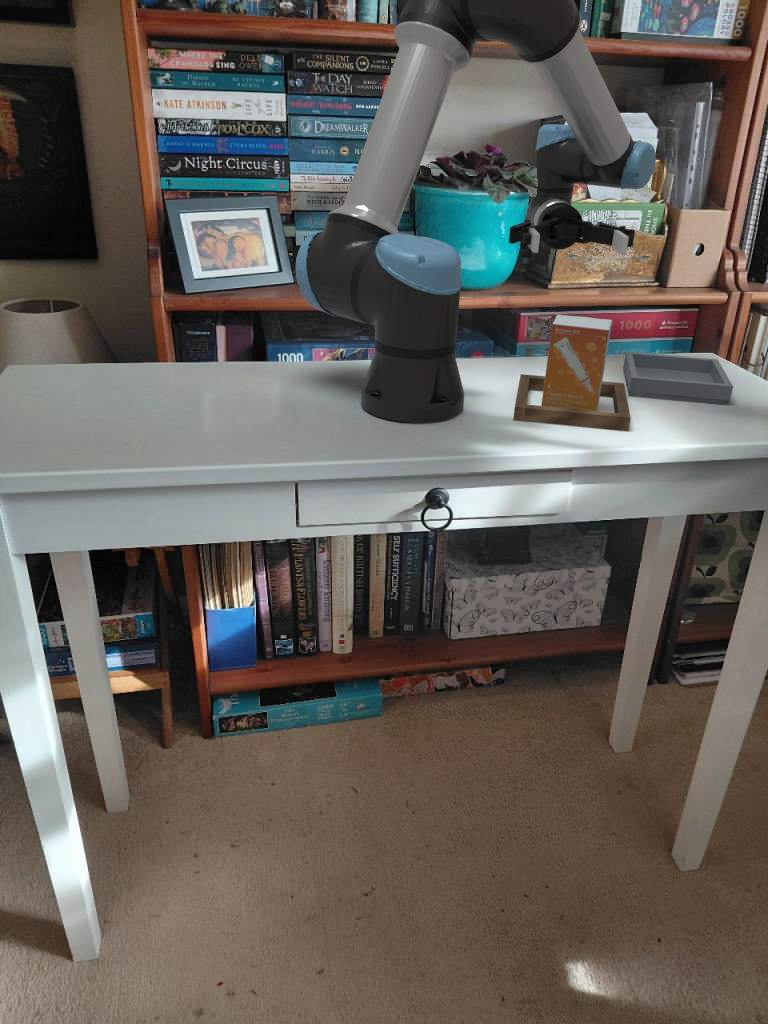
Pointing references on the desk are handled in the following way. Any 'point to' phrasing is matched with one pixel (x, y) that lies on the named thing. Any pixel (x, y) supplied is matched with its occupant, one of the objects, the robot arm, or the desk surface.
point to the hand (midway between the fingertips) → (580, 244)
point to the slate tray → (676, 378)
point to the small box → (576, 362)
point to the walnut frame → (573, 416)
